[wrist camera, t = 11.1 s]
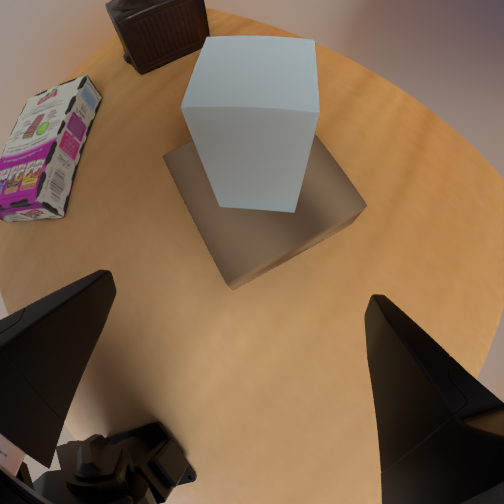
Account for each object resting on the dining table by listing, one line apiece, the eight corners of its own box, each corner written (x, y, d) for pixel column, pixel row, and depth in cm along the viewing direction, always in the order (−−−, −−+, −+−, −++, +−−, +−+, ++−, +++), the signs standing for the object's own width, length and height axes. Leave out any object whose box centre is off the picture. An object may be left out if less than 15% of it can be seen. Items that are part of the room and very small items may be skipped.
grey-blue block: (294, 212, 19) (319, 113, 9) (219, 206, 19) (180, 107, 9) (297, 150, 20) (314, 40, 10) (229, 145, 20) (207, 37, 10)
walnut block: (233, 290, 22) (226, 283, 18) (176, 179, 24) (162, 156, 20) (351, 223, 22) (367, 205, 18) (283, 127, 25) (285, 99, 21)
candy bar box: (66, 220, 24) (105, 97, 27) (35, 203, 19) (88, 71, 22) (8, 223, 24) (45, 115, 28) (-18, 211, 20) (27, 96, 23)
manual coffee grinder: (119, 51, 30) (77, -37, 13) (185, 20, 31) (162, -71, 13) (147, 100, 27) (86, -28, 9) (232, 60, 28) (214, -71, 10)
